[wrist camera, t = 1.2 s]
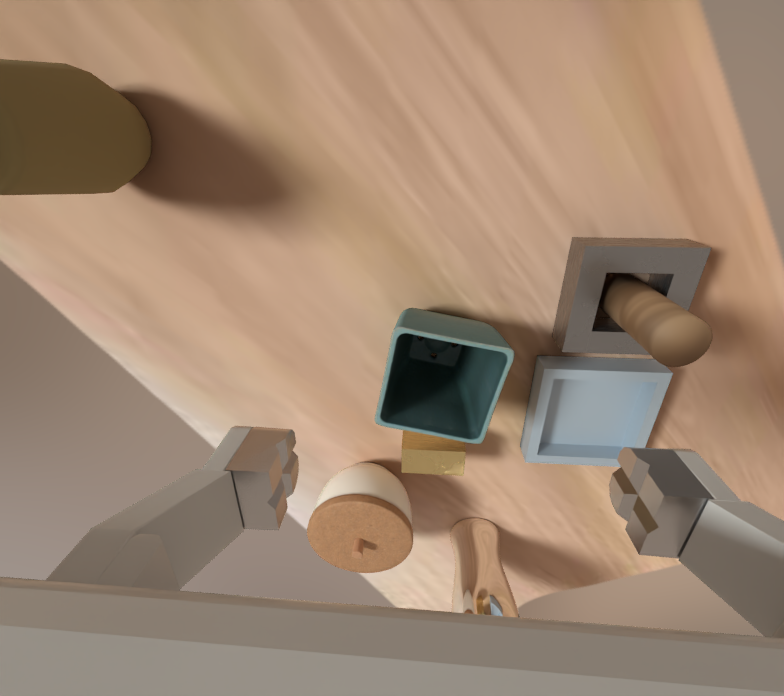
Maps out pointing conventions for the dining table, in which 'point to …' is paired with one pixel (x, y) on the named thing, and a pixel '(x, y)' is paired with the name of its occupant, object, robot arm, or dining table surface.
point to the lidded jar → (362, 520)
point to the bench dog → (432, 454)
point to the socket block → (620, 255)
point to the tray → (591, 408)
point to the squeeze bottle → (66, 132)
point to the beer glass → (480, 571)
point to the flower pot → (443, 376)
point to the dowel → (654, 320)
